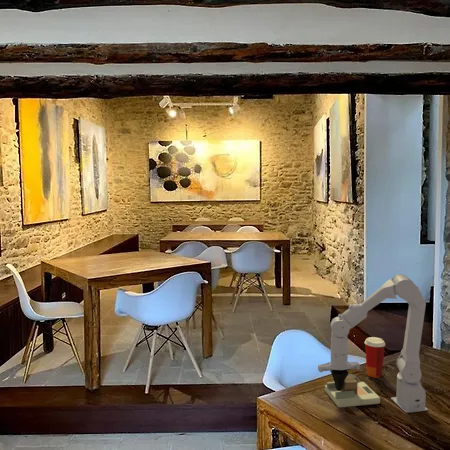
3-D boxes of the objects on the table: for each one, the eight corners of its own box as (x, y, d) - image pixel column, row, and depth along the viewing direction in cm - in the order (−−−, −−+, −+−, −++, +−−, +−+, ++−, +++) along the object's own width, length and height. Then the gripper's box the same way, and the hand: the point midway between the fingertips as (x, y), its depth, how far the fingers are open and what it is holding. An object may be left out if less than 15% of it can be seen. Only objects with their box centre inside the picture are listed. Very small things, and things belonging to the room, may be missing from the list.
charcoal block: (357, 386, 162) (357, 377, 162) (349, 388, 161) (349, 379, 160) (350, 382, 165) (350, 373, 165) (343, 384, 164) (343, 375, 164)
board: (380, 403, 149) (380, 392, 149) (338, 407, 147) (338, 396, 147) (363, 387, 161) (363, 376, 161) (324, 390, 159) (324, 380, 158)
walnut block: (357, 394, 152) (357, 381, 151) (345, 395, 151) (345, 382, 151) (351, 388, 156) (351, 376, 156) (339, 389, 155) (339, 377, 155)
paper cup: (381, 370, 175) (382, 336, 173) (386, 379, 167) (387, 344, 166) (361, 370, 176) (362, 336, 174) (365, 378, 168) (366, 343, 167)
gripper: (353, 346, 157) (352, 382, 158) (315, 349, 154) (314, 385, 156) (362, 354, 150) (361, 391, 151) (322, 357, 147) (322, 395, 149)
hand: (338, 389), depth 153 cm, fingers closed
